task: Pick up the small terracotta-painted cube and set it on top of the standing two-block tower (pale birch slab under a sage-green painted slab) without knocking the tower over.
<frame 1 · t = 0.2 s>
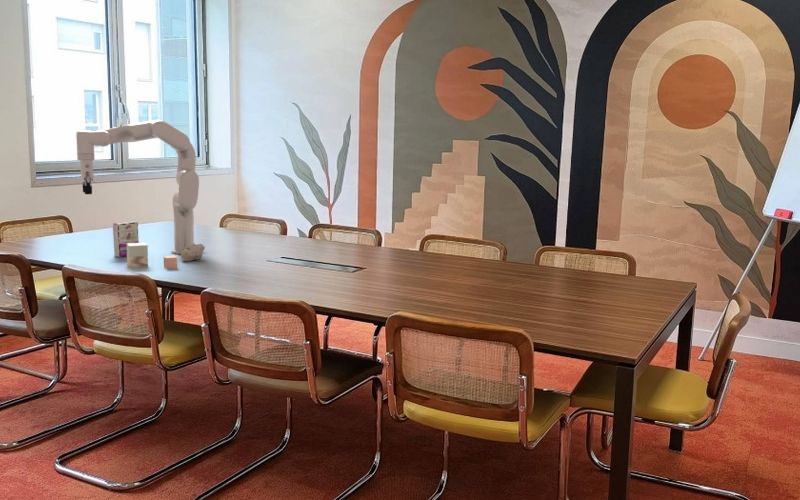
hand: (87, 193, 372), 31 cm above the table, fingers open, 9 cm apart
tower bottom: (137, 265, 361), on the table, touching tower top
candy bar box: (126, 256, 385), on the table
fossil replica: (192, 260, 377), on the table
tower top: (137, 255, 360), point 5 cm above the table, touching tower bottom
terracotta cube: (170, 267, 358), on the table
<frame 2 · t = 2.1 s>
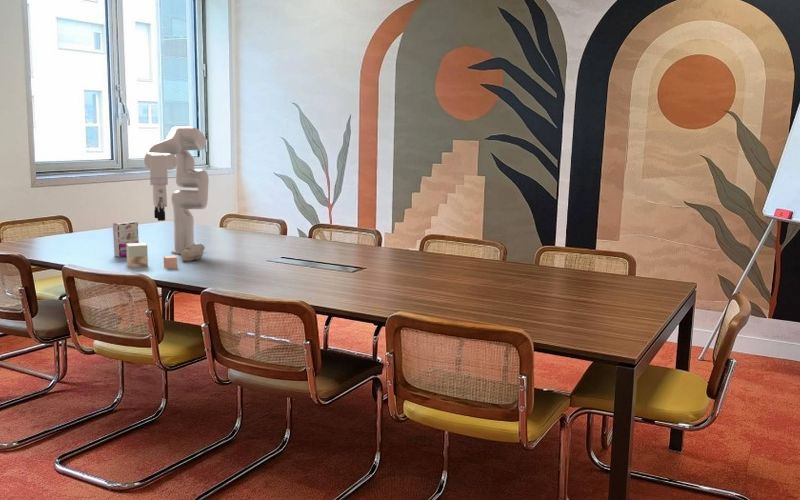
hand: (159, 219, 356), 22 cm above the table, fingers open, 9 cm apart
nothing on the table moved.
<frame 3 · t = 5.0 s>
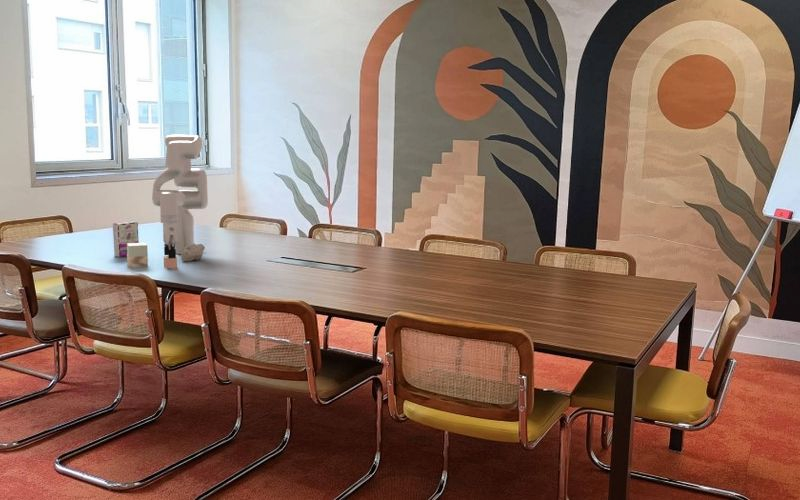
hand: (170, 256, 356), 5 cm above the table, fingers open, 9 cm apart
tower bottom: (137, 265, 361), on the table
tower top: (137, 255, 360), point 5 cm above the table
everything else where it was.
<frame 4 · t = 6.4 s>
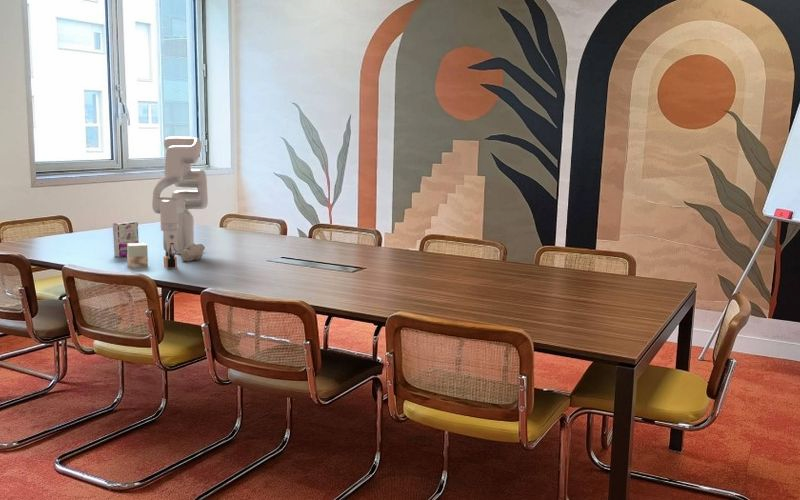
hand: (170, 265, 357), 1 cm above the table, fingers closed on terracotta cube, 4 cm apart
tower bottom: (137, 265, 361), on the table, touching tower top
tower top: (137, 255, 360), point 5 cm above the table, touching tower bottom
terracotta cube: (170, 267, 358), on the table, touching gripper
everything else where it was.
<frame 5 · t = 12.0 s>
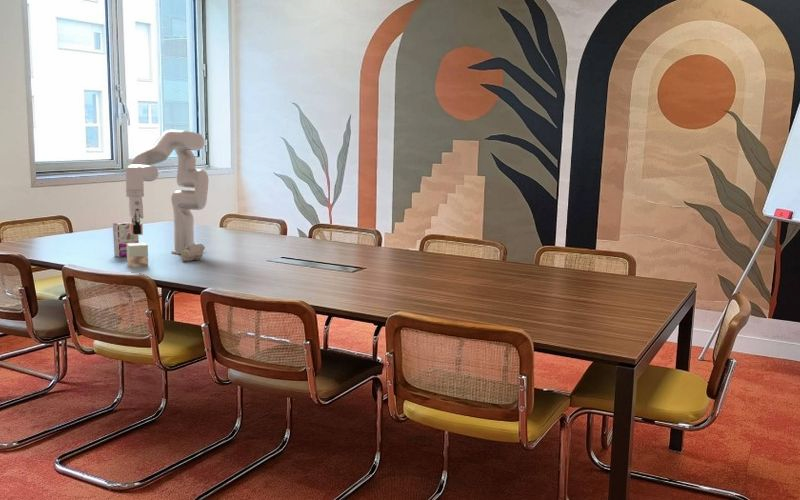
hand: (136, 232, 358), 15 cm above the table, fingers closed on terracotta cube, 4 cm apart
terracotta cube: (136, 234, 358), point 15 cm above the table, touching gripper
everything else where it was.
when the fingers open (12 cm above the table, at t = 13.1 s): terracotta cube drops 1 cm, resting on tower top.
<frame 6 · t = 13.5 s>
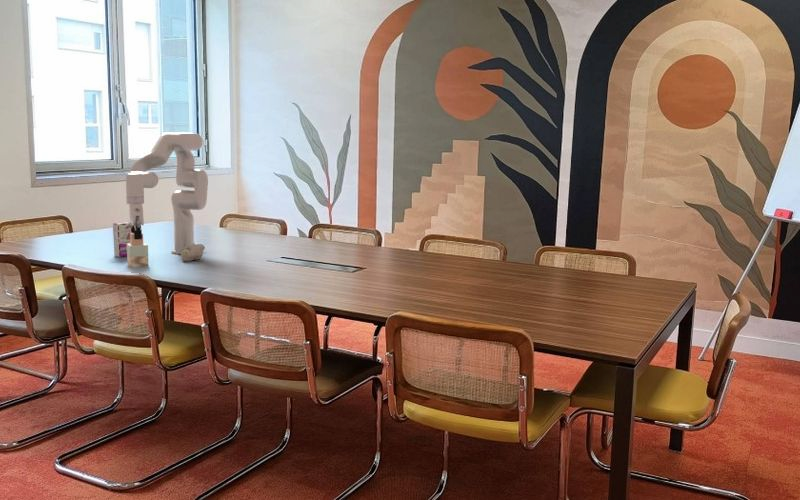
hand: (136, 237, 359), 13 cm above the table, fingers open, 9 cm apart
tower top: (137, 255, 360), point 5 cm above the table, touching terracotta cube, tower bottom
terracotta cube: (136, 244, 359), point 10 cm above the table, touching tower top
everything else where it was.
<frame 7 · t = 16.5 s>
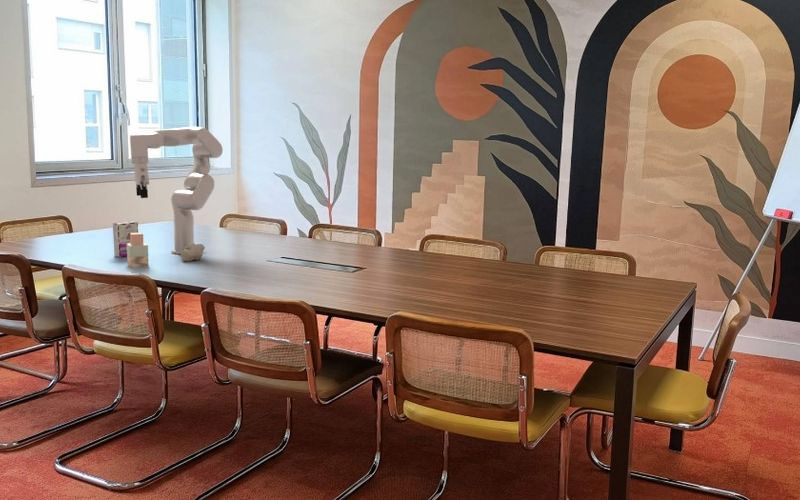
hand: (142, 196, 370), 30 cm above the table, fingers open, 9 cm apart
nothing on the table moved.
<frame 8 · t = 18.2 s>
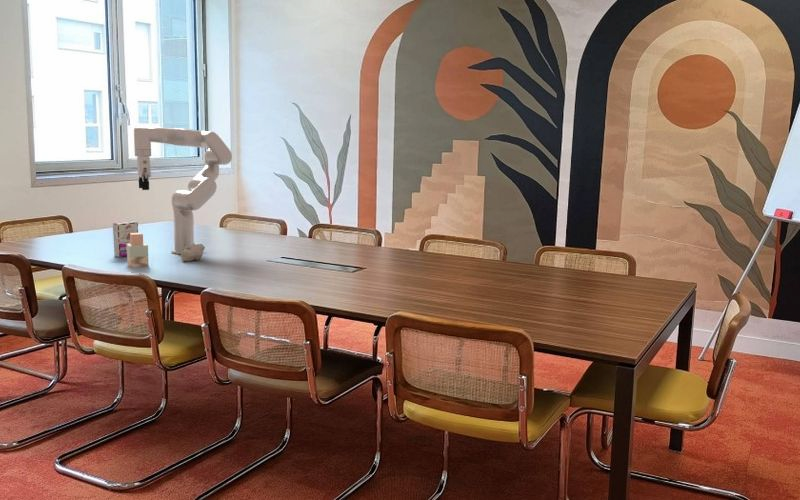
hand: (144, 189, 376), 33 cm above the table, fingers open, 9 cm apart
nothing on the table moved.
at the end: terracotta cube 0.2 cm off-centre on the tower top, point 5.0 cm above the tower top's base; tower top 0.2 cm off-centre on the tower bottom, point 5.0 cm above the tower bottom's base; tower top tilted 0° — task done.
